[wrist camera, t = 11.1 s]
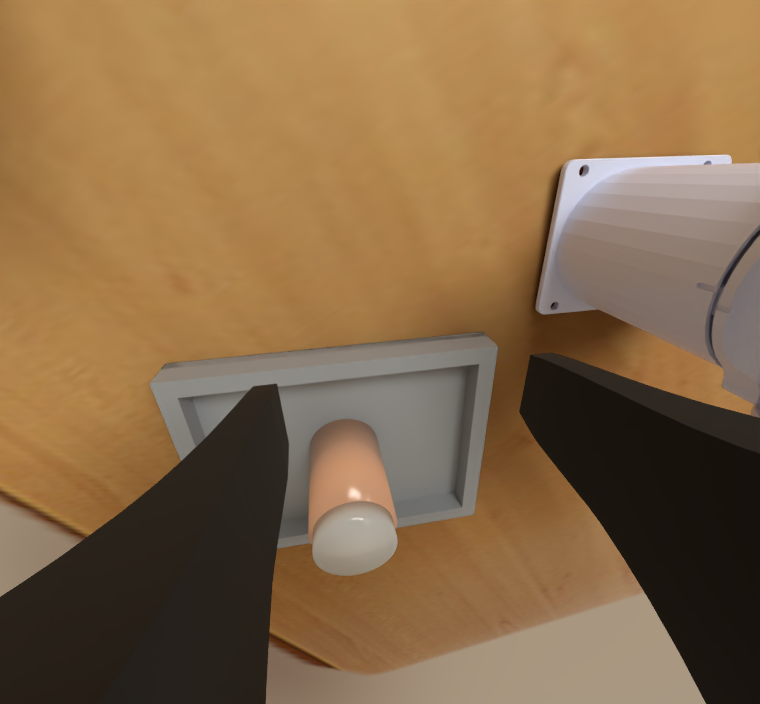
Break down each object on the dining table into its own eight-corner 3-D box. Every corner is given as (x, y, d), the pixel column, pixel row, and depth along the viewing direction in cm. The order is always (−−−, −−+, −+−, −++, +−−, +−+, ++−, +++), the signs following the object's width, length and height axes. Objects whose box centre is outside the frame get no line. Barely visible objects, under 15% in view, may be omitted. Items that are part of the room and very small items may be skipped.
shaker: (370, 411, 21) (393, 505, 15) (383, 461, 23) (408, 562, 17) (300, 429, 21) (295, 533, 15) (320, 478, 23) (322, 587, 17)
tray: (482, 331, 21) (498, 346, 19) (463, 492, 27) (473, 514, 25) (165, 363, 18) (149, 383, 17) (227, 531, 25) (220, 558, 23)
